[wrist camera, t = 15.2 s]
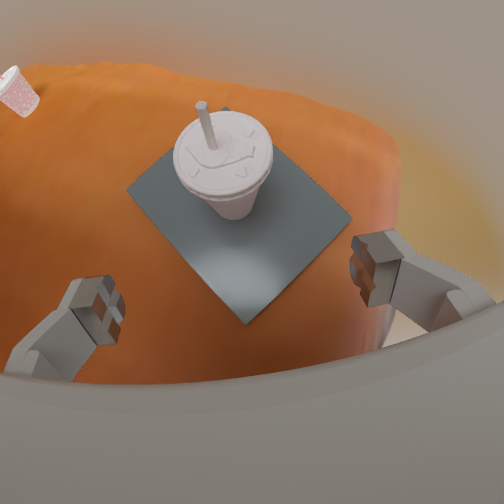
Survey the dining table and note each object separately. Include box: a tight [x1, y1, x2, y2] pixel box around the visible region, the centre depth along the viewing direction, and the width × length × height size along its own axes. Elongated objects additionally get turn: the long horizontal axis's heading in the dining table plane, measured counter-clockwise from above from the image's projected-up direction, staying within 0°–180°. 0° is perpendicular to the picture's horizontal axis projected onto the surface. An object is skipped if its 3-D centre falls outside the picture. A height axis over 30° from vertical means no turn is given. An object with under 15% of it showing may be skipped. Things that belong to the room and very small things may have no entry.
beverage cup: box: [0, 66, 40, 117], centre depth 25 cm, size 6×6×14 cm
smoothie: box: [173, 101, 273, 220], centre depth 19 cm, size 6×6×14 cm
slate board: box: [126, 107, 353, 325], centre depth 27 cm, size 18×14×2 cm
